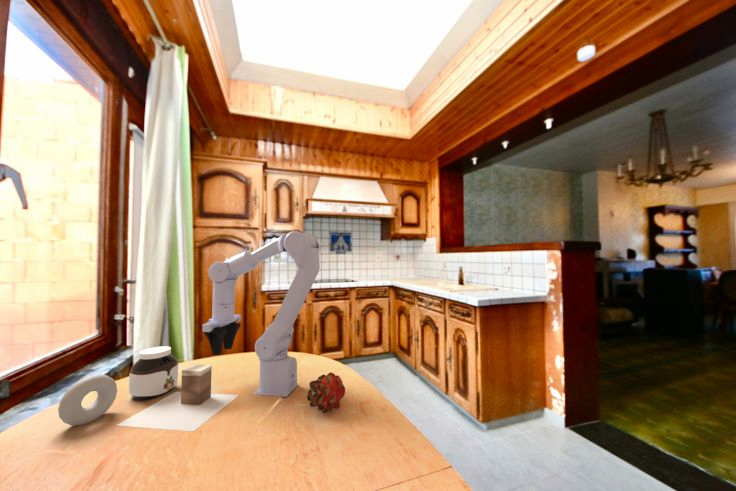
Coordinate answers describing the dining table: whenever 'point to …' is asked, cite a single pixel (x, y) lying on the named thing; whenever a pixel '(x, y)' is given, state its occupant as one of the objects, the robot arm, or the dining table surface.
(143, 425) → the mat
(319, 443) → the dining table surface
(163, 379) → the spread jar
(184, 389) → the walnut block
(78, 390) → the donut
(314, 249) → the robot arm
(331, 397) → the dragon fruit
